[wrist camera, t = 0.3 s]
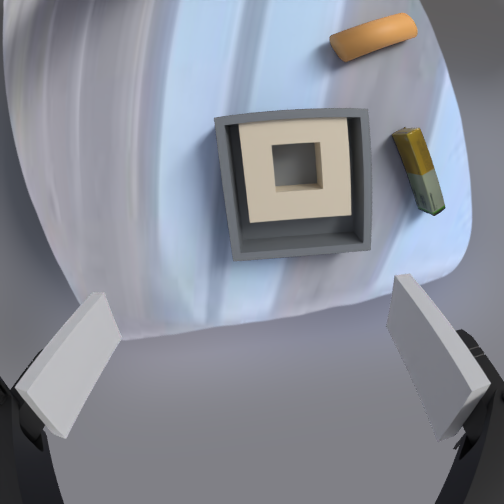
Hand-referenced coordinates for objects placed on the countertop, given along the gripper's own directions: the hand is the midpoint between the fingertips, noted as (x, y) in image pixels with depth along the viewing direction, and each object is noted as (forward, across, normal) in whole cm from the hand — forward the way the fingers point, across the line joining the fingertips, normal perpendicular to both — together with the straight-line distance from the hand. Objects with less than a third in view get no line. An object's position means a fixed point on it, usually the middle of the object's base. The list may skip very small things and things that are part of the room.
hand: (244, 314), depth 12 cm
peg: (+25, +12, +18) cm, 33 cm away
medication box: (+28, +22, +2) cm, 35 cm away
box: (+27, +5, +1) cm, 28 cm away
